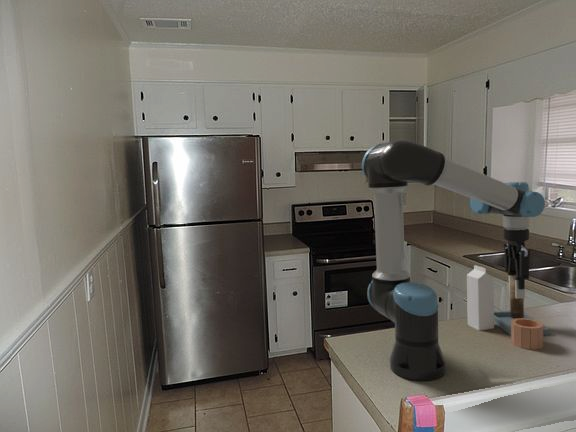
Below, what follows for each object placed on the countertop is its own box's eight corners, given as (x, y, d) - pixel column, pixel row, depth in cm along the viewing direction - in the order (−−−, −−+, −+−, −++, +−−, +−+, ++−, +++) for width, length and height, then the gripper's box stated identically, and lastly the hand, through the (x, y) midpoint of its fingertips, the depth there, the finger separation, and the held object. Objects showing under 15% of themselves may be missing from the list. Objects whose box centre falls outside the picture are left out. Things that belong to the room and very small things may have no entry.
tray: (511, 338, 131) (510, 330, 130) (487, 319, 149) (487, 311, 148) (549, 337, 130) (549, 329, 130) (521, 318, 148) (521, 310, 147)
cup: (519, 352, 121) (519, 328, 120) (506, 341, 129) (506, 318, 128) (549, 352, 120) (549, 327, 119) (533, 340, 128) (533, 317, 128)
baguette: (513, 319, 137) (513, 279, 136) (508, 315, 141) (507, 276, 140) (526, 319, 137) (525, 278, 135) (520, 315, 141) (519, 275, 139)
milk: (482, 325, 144) (481, 264, 142) (494, 331, 138) (494, 267, 136) (467, 327, 142) (466, 265, 140) (478, 333, 136) (478, 269, 134)
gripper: (541, 231, 127) (541, 303, 129) (515, 224, 144) (515, 288, 146) (516, 232, 128) (517, 304, 130) (493, 225, 145) (494, 289, 147)
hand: (516, 295), depth 138 cm, fingers closed on baguette, 4 cm apart
